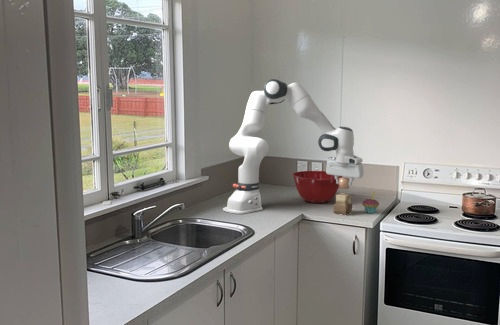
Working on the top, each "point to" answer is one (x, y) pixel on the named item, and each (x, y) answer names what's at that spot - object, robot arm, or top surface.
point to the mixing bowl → (316, 185)
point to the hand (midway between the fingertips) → (344, 184)
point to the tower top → (343, 199)
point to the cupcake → (370, 204)
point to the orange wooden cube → (343, 183)
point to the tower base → (342, 209)
